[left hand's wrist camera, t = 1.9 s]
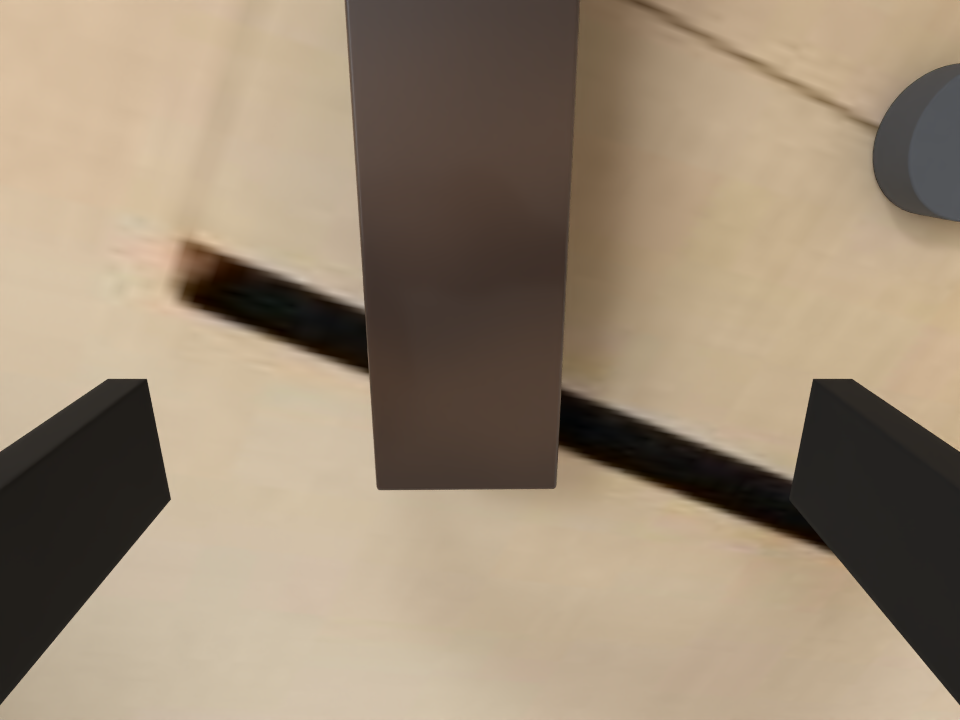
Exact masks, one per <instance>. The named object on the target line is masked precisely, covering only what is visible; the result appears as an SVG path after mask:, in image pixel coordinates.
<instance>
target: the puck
mask: <svg viewBox="0 0 960 720" xmlns="http://www.w3.org/2000/svg"><path fill="white" fill-rule="evenodd" d="M873 165H874V172H875V176H876V179H877V182H878V184H879V186H880V188H881V190H882V191H883V193H884V194H885V195H886V197H887V198H888V199H889V200H890V201H891V202H892V203H894V204H895V205H896V206H898V207H900V208H901V209H903V210H905V211H908V212H911V213H915V214H920V215H925V216H930V217H935V218H941V219H946V220H951V221H957V222H960V63H959V64H953V65H948V66H944V67H941V68H938V69H935V70H933V71H931V72H929V73H927V74H925V75H924V76H922V77H921V78H919V79H917V80H916V81H915V82H913V83H912V84H911V85H910V86H908V87H907V88H906V89H905V90H904V91H903V92H902V93H901V94H900V95H899V96H898V97H897V99H896V100H895V101H894V102H893V103H892V105H891V106H890V108H889V109H888V111H887V112H886V114H885V116H884V118H883V120H882V122H881V124H880V127H879V129H878V132H877V135H876V139H875V143H874V150H873Z"/></svg>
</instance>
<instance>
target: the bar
mask: <svg viewBox="0 0 960 720" xmlns="http://www.w3.org/2000/svg"><path fill="white" fill-rule="evenodd" d="M579 11H580V0H345V13H346V28H347V43H348V58H349V73H350V89H351V104H352V119H353V134H354V150H355V165H356V180H357V195H358V210H359V226H360V241H361V256H362V271H363V286H364V302H365V317H366V332H367V347H368V362H369V378H370V393H371V408H372V423H373V439H374V454H375V469H376V484H377V488H378V490H455V489H554V488H555V487H556V484H557V463H558V443H559V422H560V402H561V381H562V361H563V340H564V319H565V299H566V278H567V258H568V237H569V217H570V196H571V175H572V155H573V134H574V114H575V93H576V73H577V52H578V32H579Z"/></svg>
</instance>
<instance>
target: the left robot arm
mask: <svg viewBox="0 0 960 720" xmlns="http://www.w3.org/2000/svg"><path fill="white" fill-rule="evenodd" d="M170 500H171V498H170V493H169V488H168V483H167V478H166V473H165V468H164V463H163V458H162V453H161V448H160V443H159V438H158V433H157V428H156V423H155V418H154V413H153V408H152V403H151V398H150V393H149V388H148V383H147V379H107V380H106V381H104V382H103V383H101V384H100V385H98V386H97V387H95V388H94V389H92V390H91V391H89V392H88V393H87V394H85V395H84V396H82V397H81V398H79V399H78V400H76V401H75V402H73V403H72V404H70V405H69V406H67V407H66V408H64V409H63V410H61V411H60V412H58V413H57V414H56V415H54V416H53V417H51V418H50V419H48V420H47V421H45V422H44V423H42V424H41V425H39V426H38V427H36V428H35V429H33V430H32V431H30V432H29V433H28V434H26V435H25V436H23V437H22V438H20V439H19V440H17V441H16V442H14V443H13V444H11V445H10V446H8V447H7V448H5V449H4V450H2V451H1V452H0V705H1V703H2V702H3V701H4V700H5V699H6V697H7V696H8V695H9V694H10V693H11V691H12V690H13V689H14V688H15V687H16V685H17V684H18V683H19V682H20V681H21V679H22V678H23V677H24V676H25V675H26V673H27V672H28V671H29V670H30V668H31V667H32V666H33V665H34V664H35V662H36V661H37V660H38V659H39V658H40V656H41V655H42V654H43V653H44V652H45V650H46V649H47V648H48V647H49V646H50V644H51V643H52V642H53V641H54V640H55V638H56V637H57V636H58V635H59V634H60V632H61V631H62V630H63V629H64V628H65V626H66V625H67V624H68V623H69V621H70V620H71V619H72V618H73V617H74V615H75V614H76V613H77V612H78V611H79V609H80V608H81V607H82V606H83V605H84V603H85V602H86V601H87V600H88V599H89V597H90V596H91V595H92V594H93V593H94V591H95V590H96V589H97V588H98V587H99V585H100V584H101V583H102V582H103V581H104V579H105V578H106V577H107V576H108V574H109V573H110V572H111V571H112V570H113V568H114V567H115V566H116V565H117V564H118V562H119V561H120V560H121V559H122V558H123V556H124V555H125V554H126V553H127V552H128V550H129V549H130V548H131V547H132V546H133V544H134V543H135V542H136V541H137V540H138V538H139V537H140V536H141V535H142V534H143V532H144V531H145V530H146V529H147V527H148V526H149V525H150V524H151V523H152V521H153V520H154V519H155V518H156V517H157V515H158V514H159V513H160V512H161V511H162V509H163V508H164V507H165V506H166V505H167V503H168V502H169V501H170ZM789 500H790V501H791V502H792V503H793V505H794V506H795V507H796V508H797V509H798V511H799V512H800V513H801V514H802V515H803V517H804V518H805V519H806V520H807V521H808V523H809V524H810V525H811V526H812V527H813V529H814V530H815V531H816V532H817V534H818V535H819V536H820V537H821V538H822V540H823V541H824V542H825V543H826V544H827V546H828V547H829V548H830V549H831V550H832V552H833V553H834V554H835V555H836V556H837V558H838V559H839V560H840V561H841V562H842V564H843V565H844V566H845V567H846V568H847V570H848V571H849V572H850V573H851V574H852V576H853V577H854V578H855V579H856V581H857V582H858V583H859V584H860V585H861V587H862V588H863V589H864V590H865V591H866V593H867V594H868V595H869V596H870V597H871V599H872V600H873V601H874V602H875V603H876V605H877V606H878V607H879V608H880V609H881V611H882V612H883V613H884V614H885V615H886V617H887V618H888V619H889V620H890V621H891V623H892V624H893V625H894V626H895V628H896V629H897V630H898V631H899V632H900V634H901V635H902V636H903V637H904V638H905V640H906V641H907V642H908V643H909V644H910V646H911V647H912V648H913V649H914V650H915V652H916V653H917V654H918V655H919V656H920V658H921V659H922V660H923V661H924V662H925V664H926V665H927V666H928V667H929V668H930V670H931V671H932V672H933V673H934V675H935V676H936V677H937V678H938V679H939V681H940V682H941V683H942V684H943V685H944V687H945V688H946V689H947V690H948V691H949V693H950V694H951V695H952V696H953V697H954V699H955V700H956V701H957V702H958V703H959V705H960V452H959V451H958V450H956V449H955V448H953V447H952V446H950V445H949V444H947V443H946V442H944V441H943V440H941V439H940V438H938V437H937V436H935V435H934V434H932V433H931V432H930V431H928V430H927V429H925V428H924V427H922V426H921V425H919V424H918V423H916V422H915V421H913V420H912V419H910V418H909V417H907V416H906V415H904V414H903V413H902V412H900V411H899V410H897V409H896V408H894V407H893V406H891V405H890V404H888V403H887V402H885V401H884V400H882V399H881V398H879V397H878V396H876V395H875V394H873V393H872V392H871V391H869V390H868V389H866V388H865V387H863V386H862V385H860V384H859V383H857V382H856V381H854V380H853V379H813V383H812V388H811V393H810V398H809V403H808V408H807V413H806V418H805V423H804V428H803V433H802V438H801V443H800V448H799V453H798V458H797V463H796V468H795V473H794V478H793V483H792V488H791V493H790V498H789Z"/></svg>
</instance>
